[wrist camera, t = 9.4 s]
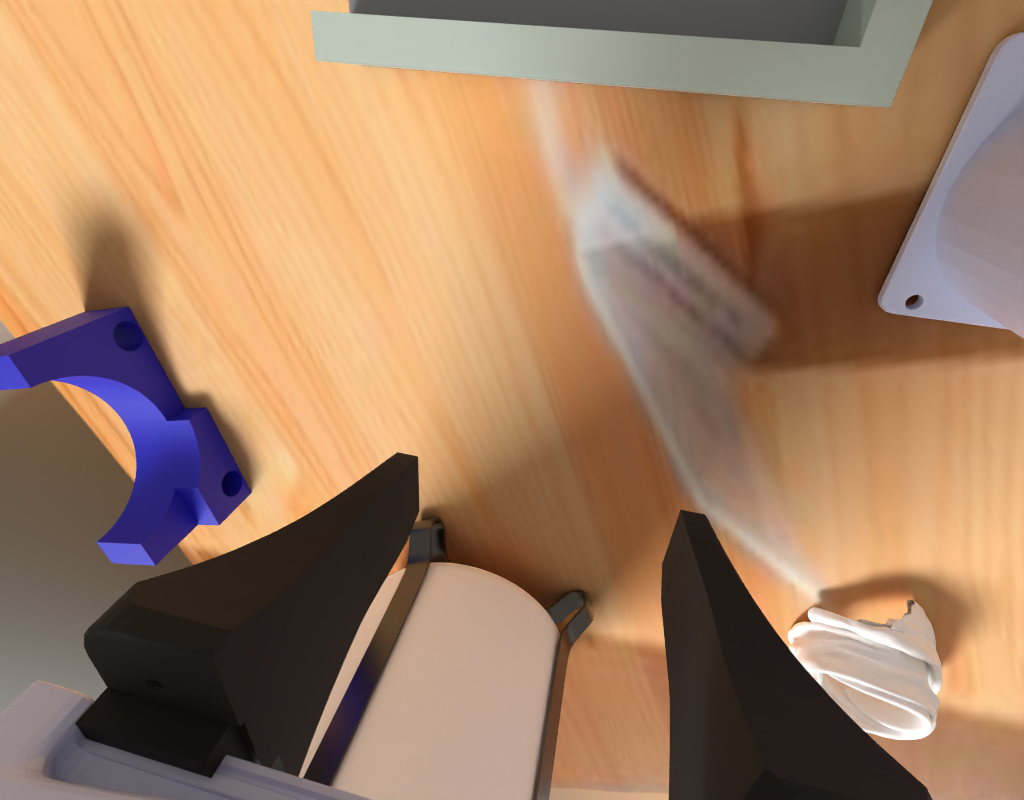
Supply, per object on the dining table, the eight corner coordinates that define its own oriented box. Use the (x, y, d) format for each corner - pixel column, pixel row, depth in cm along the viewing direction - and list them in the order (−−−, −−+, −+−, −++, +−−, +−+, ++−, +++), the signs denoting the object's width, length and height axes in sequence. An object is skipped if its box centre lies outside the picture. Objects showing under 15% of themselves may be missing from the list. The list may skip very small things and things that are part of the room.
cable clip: (253, 490, 31) (178, 566, 26) (194, 490, 32) (112, 562, 27) (154, 302, 25) (34, 352, 20) (88, 310, 27) (-42, 360, 22)
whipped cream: (935, 661, 27) (999, 763, 23) (803, 686, 30) (841, 782, 26) (908, 568, 24) (978, 667, 20) (762, 603, 26) (798, 699, 22)
